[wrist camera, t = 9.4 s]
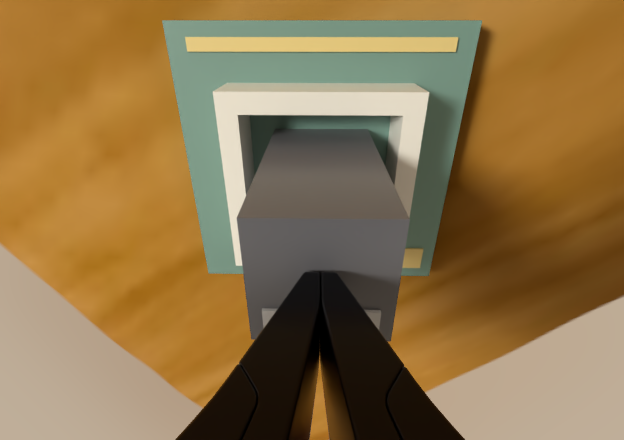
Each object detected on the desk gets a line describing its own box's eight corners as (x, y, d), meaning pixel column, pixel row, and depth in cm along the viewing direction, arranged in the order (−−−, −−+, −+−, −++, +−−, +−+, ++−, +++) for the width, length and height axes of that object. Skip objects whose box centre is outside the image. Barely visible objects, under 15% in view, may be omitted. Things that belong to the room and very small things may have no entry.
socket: (414, 83, 14) (429, 92, 12) (392, 241, 18) (401, 267, 16) (227, 82, 14) (212, 91, 12) (244, 239, 18) (235, 265, 16)
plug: (367, 129, 15) (410, 221, 8) (360, 220, 17) (389, 355, 10) (275, 128, 15) (235, 220, 8) (280, 219, 17) (252, 354, 10)
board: (471, 20, 14) (483, 20, 13) (423, 264, 20) (429, 277, 19) (172, 20, 14) (161, 20, 13) (213, 262, 20) (208, 274, 19)
